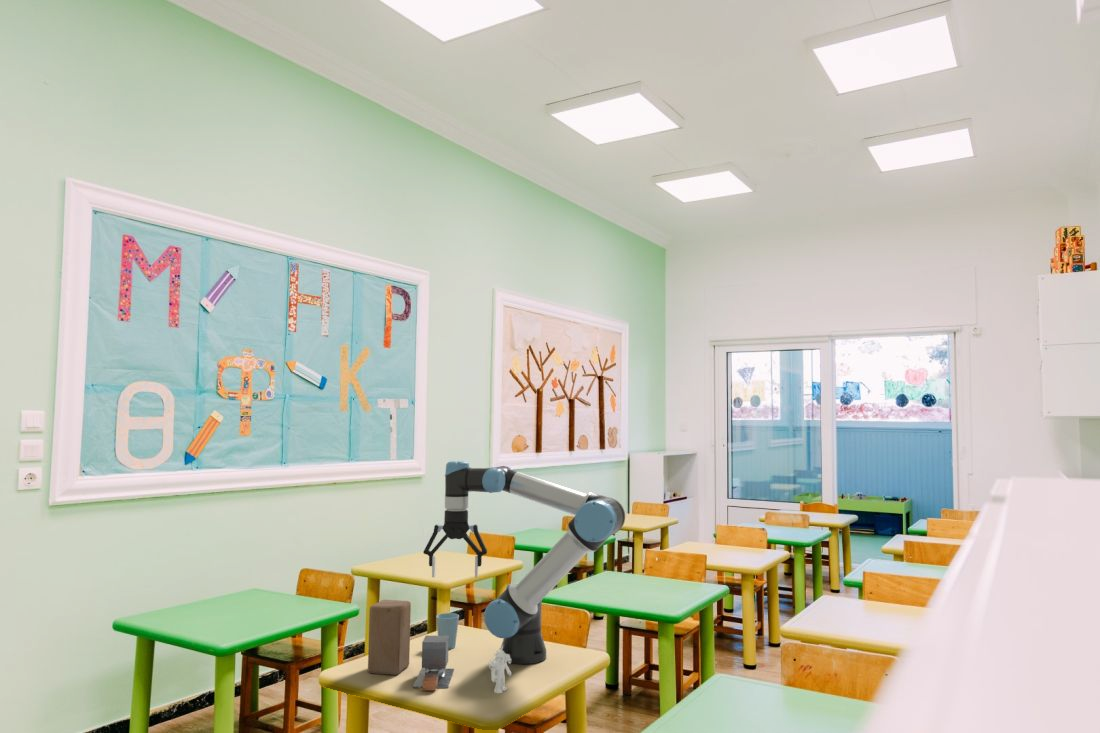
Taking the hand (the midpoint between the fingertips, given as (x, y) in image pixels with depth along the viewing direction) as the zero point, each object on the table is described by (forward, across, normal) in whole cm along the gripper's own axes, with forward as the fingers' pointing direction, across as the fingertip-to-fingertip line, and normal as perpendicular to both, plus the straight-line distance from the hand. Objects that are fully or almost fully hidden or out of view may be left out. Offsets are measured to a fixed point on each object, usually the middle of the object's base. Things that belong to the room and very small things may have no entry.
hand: (455, 576), depth 236 cm
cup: (+27, +4, -17) cm, 32 cm away
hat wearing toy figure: (+27, -16, +25) cm, 40 cm away
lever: (+27, +4, +16) cm, 32 cm away
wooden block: (+27, +19, +7) cm, 34 cm away
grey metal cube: (+23, +4, +13) cm, 27 cm away
